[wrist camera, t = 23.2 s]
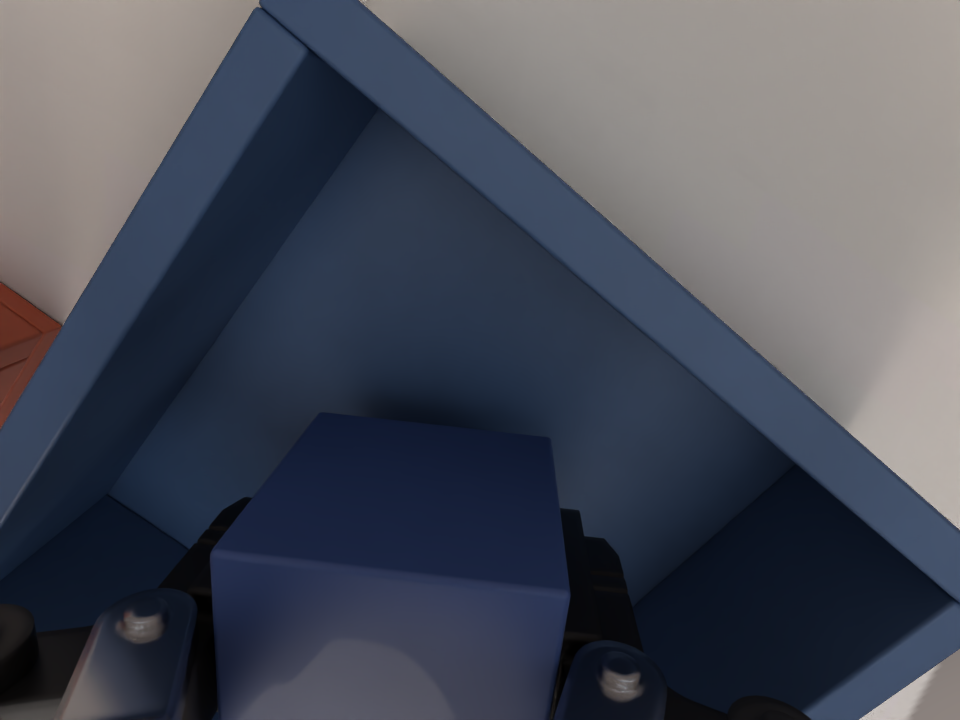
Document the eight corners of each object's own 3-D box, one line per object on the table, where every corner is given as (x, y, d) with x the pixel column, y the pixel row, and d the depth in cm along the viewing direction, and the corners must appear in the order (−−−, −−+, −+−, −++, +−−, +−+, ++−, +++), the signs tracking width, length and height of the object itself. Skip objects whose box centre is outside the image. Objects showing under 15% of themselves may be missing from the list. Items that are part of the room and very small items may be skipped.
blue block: (318, 409, 12) (206, 552, 8) (551, 435, 12) (572, 595, 8) (315, 601, 14) (220, 813, 9) (524, 626, 13) (528, 852, 9)
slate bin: (388, 34, 12) (291, -60, 7) (846, 437, 14) (1036, 598, 9) (82, 484, 16) (-131, 643, 11) (481, 752, 18) (466, 997, 13)
